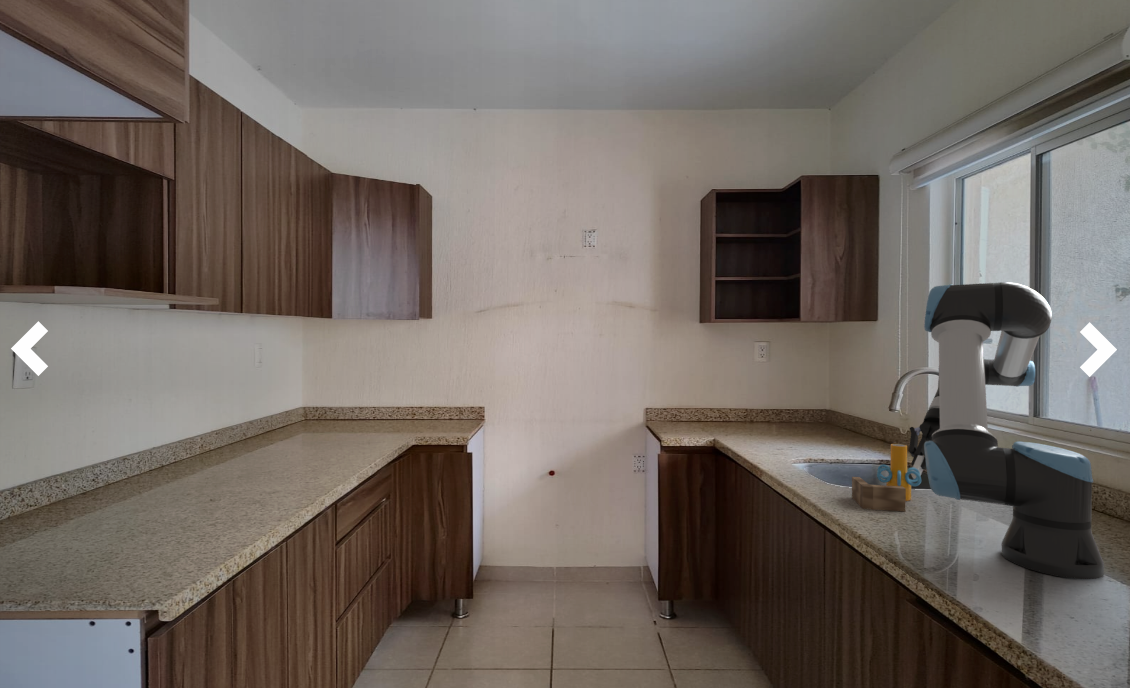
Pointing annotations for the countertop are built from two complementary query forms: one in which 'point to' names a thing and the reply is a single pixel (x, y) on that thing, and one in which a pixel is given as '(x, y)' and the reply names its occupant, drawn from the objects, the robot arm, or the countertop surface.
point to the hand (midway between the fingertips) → (914, 476)
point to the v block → (878, 496)
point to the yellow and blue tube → (899, 470)
